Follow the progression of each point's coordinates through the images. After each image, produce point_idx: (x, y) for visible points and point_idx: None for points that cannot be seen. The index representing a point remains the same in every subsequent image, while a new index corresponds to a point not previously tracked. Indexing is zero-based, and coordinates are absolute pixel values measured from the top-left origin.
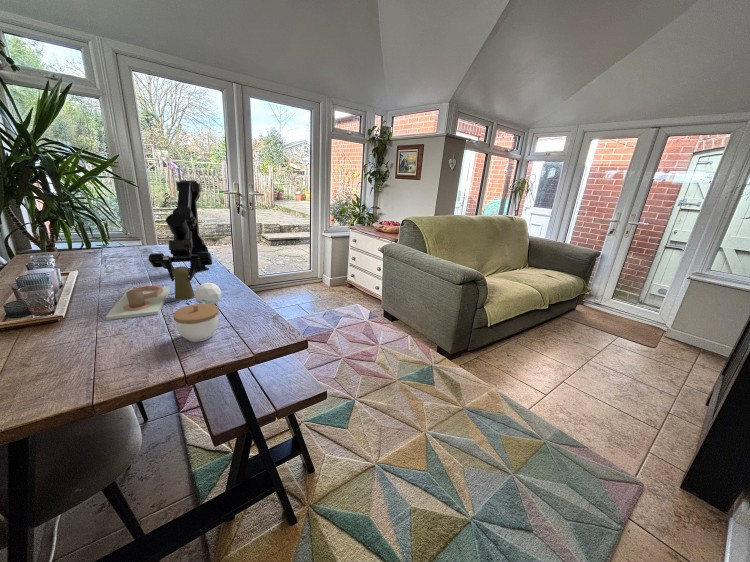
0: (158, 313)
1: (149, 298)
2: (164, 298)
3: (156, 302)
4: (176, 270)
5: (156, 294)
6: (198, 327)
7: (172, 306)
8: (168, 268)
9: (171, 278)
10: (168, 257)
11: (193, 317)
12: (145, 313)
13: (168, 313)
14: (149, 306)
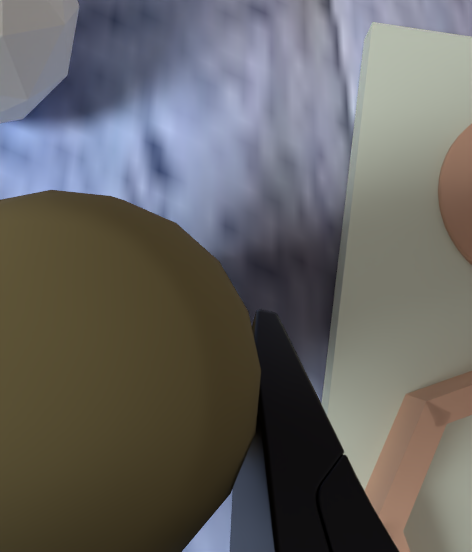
0: (365, 39)
1: (466, 361)
2: (339, 306)
3: (398, 225)
4: (144, 228)
5: (418, 398)
6: None
7: (273, 154)
8: (353, 530)
9: (276, 330)
10: None
11: None
12: (453, 39)
13: (299, 27)
14: (443, 153)
